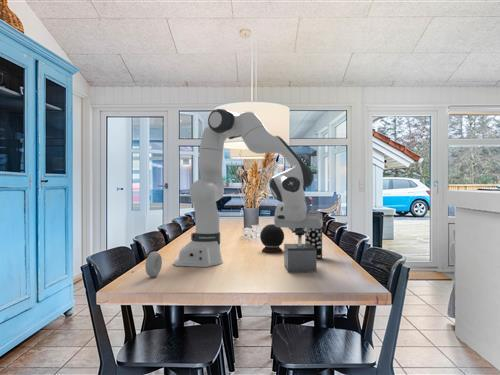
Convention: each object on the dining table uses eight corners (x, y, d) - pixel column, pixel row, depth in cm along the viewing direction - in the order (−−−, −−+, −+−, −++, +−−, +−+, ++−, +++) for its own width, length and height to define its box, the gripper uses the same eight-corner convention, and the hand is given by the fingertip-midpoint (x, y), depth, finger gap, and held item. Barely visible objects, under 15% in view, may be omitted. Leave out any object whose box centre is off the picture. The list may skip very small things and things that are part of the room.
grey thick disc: (151, 280, 141) (151, 254, 141) (143, 279, 141) (143, 253, 141) (163, 274, 150) (163, 249, 150) (155, 273, 151) (155, 249, 151)
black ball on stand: (268, 248, 212) (268, 222, 212) (288, 251, 204) (288, 224, 204) (255, 252, 201) (255, 224, 201) (276, 254, 193) (276, 226, 193)
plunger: (292, 267, 156) (292, 227, 156) (289, 263, 164) (289, 225, 164) (310, 267, 156) (310, 227, 156) (306, 263, 164) (306, 225, 164)
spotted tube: (322, 260, 179) (322, 218, 179) (304, 259, 181) (304, 218, 181) (322, 256, 187) (322, 217, 187) (305, 256, 189) (305, 217, 189)
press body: (287, 272, 154) (287, 248, 154) (284, 266, 166) (284, 243, 166) (316, 272, 154) (316, 248, 154) (310, 265, 166) (310, 243, 166)
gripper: (322, 205, 150) (324, 227, 159) (273, 204, 156) (278, 225, 166) (321, 217, 146) (323, 238, 155) (270, 216, 152) (276, 236, 161)
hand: (300, 231), depth 160 cm, fingers closed on plunger, 4 cm apart
